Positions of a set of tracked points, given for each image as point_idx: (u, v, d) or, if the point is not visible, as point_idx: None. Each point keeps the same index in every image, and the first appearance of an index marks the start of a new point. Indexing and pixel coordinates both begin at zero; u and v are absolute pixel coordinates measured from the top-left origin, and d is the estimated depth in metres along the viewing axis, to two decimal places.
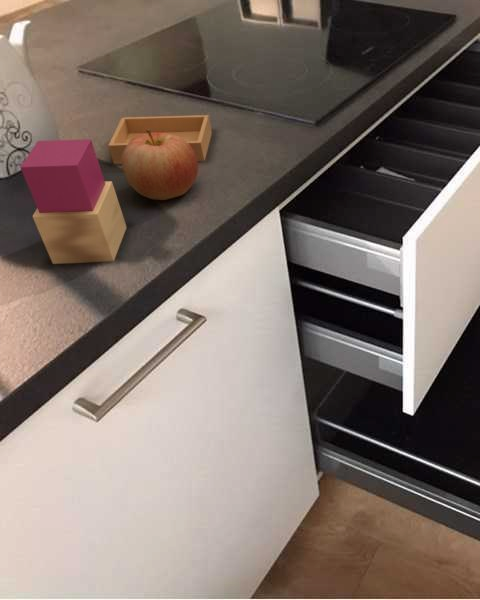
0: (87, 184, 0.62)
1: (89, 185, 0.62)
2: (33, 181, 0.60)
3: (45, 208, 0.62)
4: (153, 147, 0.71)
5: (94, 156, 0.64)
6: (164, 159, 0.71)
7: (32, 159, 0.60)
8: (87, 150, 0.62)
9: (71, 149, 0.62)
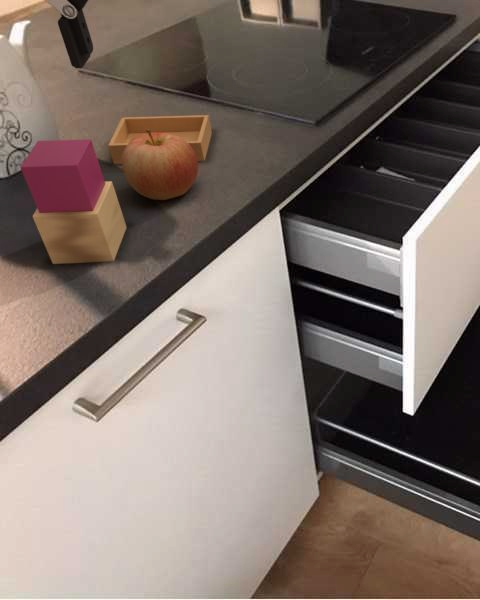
0: (87, 184, 0.62)
1: (89, 185, 0.62)
2: (33, 181, 0.60)
3: (45, 208, 0.62)
4: (153, 147, 0.71)
5: (94, 156, 0.64)
6: (164, 159, 0.71)
7: (32, 159, 0.60)
8: (87, 150, 0.62)
9: (71, 149, 0.62)
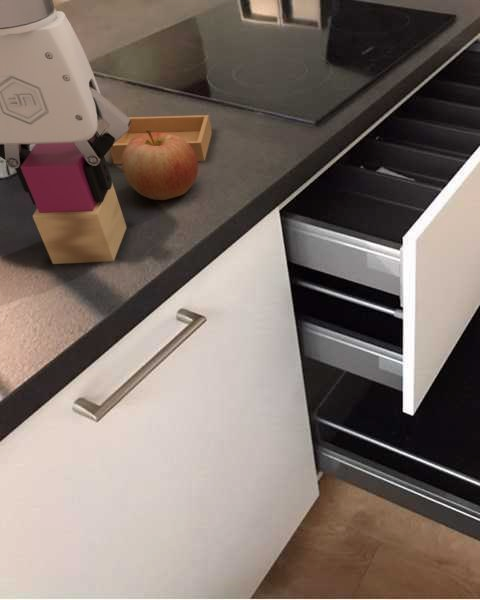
0: (87, 184, 0.62)
1: None
2: (33, 181, 0.60)
3: (45, 208, 0.62)
4: (153, 147, 0.71)
5: None
6: (164, 159, 0.71)
7: (32, 159, 0.60)
8: None
9: (71, 149, 0.62)
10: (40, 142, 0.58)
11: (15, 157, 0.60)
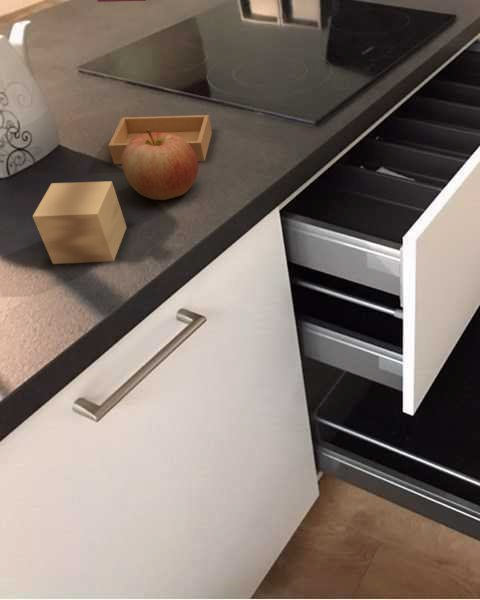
0: None
1: None
2: None
3: None
4: (153, 147, 0.71)
5: None
6: (164, 159, 0.71)
7: None
8: None
9: None
10: None
11: None
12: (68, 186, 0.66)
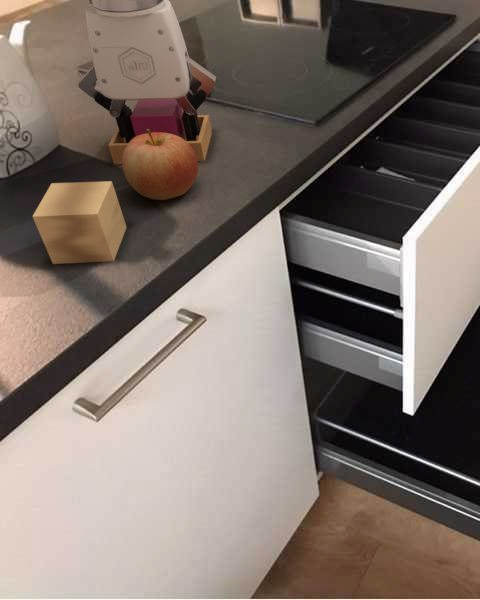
0: (178, 131, 0.81)
1: (179, 132, 0.81)
2: (138, 128, 0.79)
3: None
4: (153, 147, 0.71)
5: (181, 111, 0.83)
6: (164, 159, 0.71)
7: (138, 111, 0.79)
8: (177, 106, 0.81)
9: (166, 104, 0.81)
10: (147, 98, 0.77)
11: (118, 109, 0.79)
12: (68, 186, 0.66)
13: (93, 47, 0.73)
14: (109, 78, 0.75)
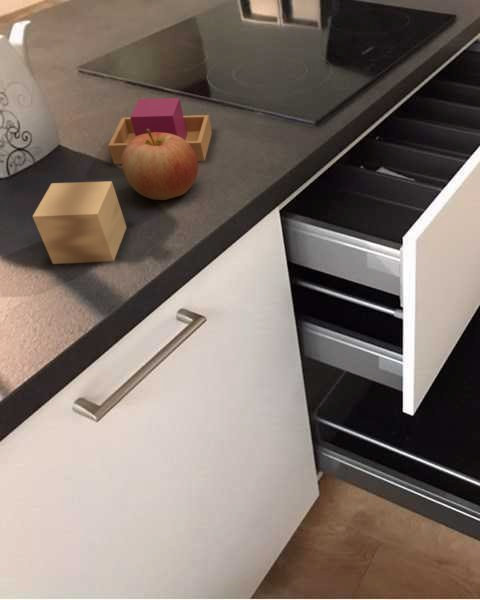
0: (178, 131, 0.81)
1: (179, 132, 0.81)
2: (138, 128, 0.79)
3: None
4: (153, 147, 0.71)
5: (181, 111, 0.83)
6: (164, 159, 0.71)
7: (138, 111, 0.79)
8: (177, 106, 0.81)
9: (166, 104, 0.81)
10: None
11: None
12: (68, 186, 0.66)
13: None
14: None
